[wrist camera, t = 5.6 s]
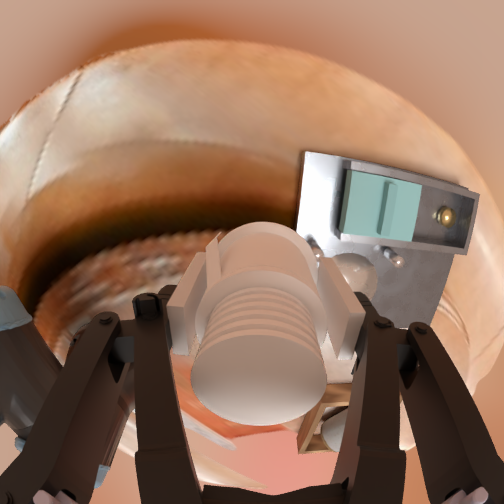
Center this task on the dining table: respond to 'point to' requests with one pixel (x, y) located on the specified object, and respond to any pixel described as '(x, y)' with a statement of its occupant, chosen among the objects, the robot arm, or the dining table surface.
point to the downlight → (260, 327)
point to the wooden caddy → (330, 398)
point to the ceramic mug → (334, 431)
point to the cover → (379, 206)
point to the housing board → (386, 250)
